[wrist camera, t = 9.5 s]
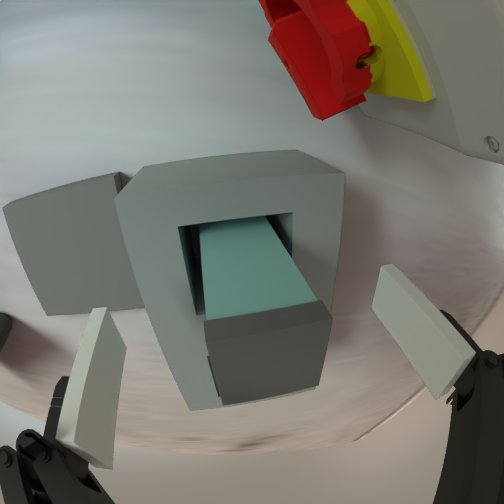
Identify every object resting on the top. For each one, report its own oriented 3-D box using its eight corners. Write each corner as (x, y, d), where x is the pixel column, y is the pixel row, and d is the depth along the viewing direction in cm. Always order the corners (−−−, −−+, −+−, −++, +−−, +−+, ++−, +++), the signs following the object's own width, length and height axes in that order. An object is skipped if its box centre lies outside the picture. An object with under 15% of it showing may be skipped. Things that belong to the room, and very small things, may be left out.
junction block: (143, 166, 19) (113, 198, 12) (302, 149, 21) (352, 172, 14) (187, 349, 29) (190, 410, 22) (296, 332, 31) (319, 387, 24)
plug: (196, 199, 20) (205, 342, 8) (251, 192, 21) (332, 317, 9) (203, 248, 22) (223, 405, 10) (254, 241, 23) (318, 385, 11)
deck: (10, 202, 17) (2, 207, 16) (119, 171, 19) (113, 176, 18) (51, 306, 23) (47, 315, 22) (150, 296, 25) (148, 307, 24)
